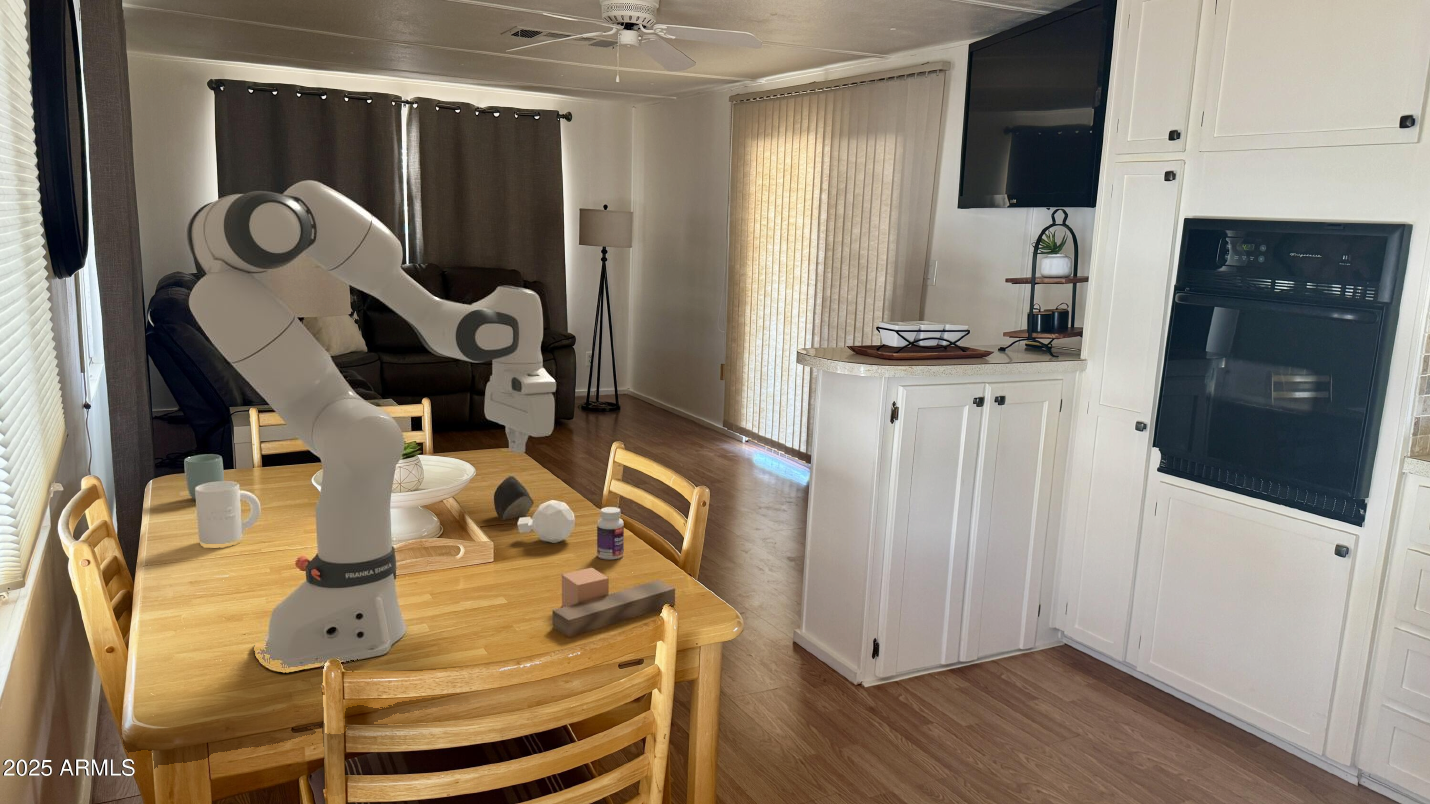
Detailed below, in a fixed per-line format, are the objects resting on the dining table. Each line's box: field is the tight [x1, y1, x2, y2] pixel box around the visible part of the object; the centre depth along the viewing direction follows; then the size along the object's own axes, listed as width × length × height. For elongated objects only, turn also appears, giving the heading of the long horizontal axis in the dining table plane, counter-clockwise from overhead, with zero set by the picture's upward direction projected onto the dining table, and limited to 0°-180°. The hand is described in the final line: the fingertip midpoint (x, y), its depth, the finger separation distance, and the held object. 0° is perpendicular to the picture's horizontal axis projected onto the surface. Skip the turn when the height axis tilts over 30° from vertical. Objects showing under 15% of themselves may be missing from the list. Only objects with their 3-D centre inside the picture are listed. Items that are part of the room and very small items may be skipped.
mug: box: [195, 480, 261, 544], centre depth 193 cm, size 8×12×12 cm
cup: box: [183, 453, 225, 500], centre depth 221 cm, size 8×8×10 cm
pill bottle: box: [596, 506, 625, 561], centre depth 189 cm, size 5×5×10 cm
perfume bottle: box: [517, 499, 576, 544], centre depth 197 cm, size 9×9×12 cm
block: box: [561, 567, 610, 607], centre depth 163 cm, size 6×6×6 cm
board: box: [552, 579, 676, 638], centre depth 160 cm, size 22×5×3 cm, turn 131°
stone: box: [493, 475, 535, 521], centre depth 212 cm, size 8×8×10 cm
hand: (517, 451), depth 170 cm, fingers closed
